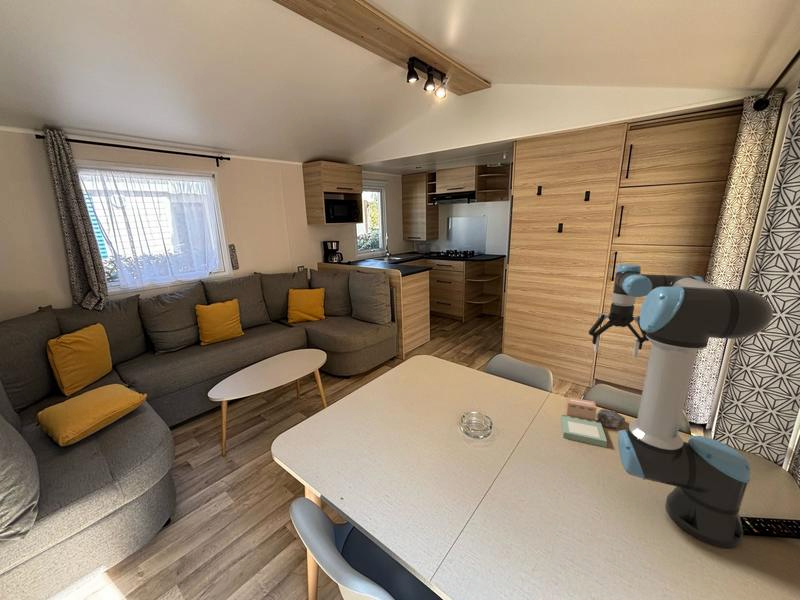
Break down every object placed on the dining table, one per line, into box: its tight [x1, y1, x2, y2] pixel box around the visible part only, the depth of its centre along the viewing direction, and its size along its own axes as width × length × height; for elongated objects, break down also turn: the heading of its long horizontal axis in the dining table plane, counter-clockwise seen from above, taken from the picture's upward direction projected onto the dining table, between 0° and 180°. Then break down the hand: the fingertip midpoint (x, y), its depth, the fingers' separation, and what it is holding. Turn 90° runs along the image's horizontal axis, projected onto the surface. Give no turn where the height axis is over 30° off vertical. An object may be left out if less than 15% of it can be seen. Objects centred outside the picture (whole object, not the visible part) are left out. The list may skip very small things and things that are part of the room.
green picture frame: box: [560, 414, 608, 448], centre depth 121 cm, size 12×14×3 cm
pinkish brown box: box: [564, 396, 597, 421], centre depth 129 cm, size 5×10×8 cm, turn 67°
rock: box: [595, 408, 626, 429], centre depth 128 cm, size 9×11×4 cm
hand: (614, 353), depth 128 cm, fingers open, 13 cm apart
